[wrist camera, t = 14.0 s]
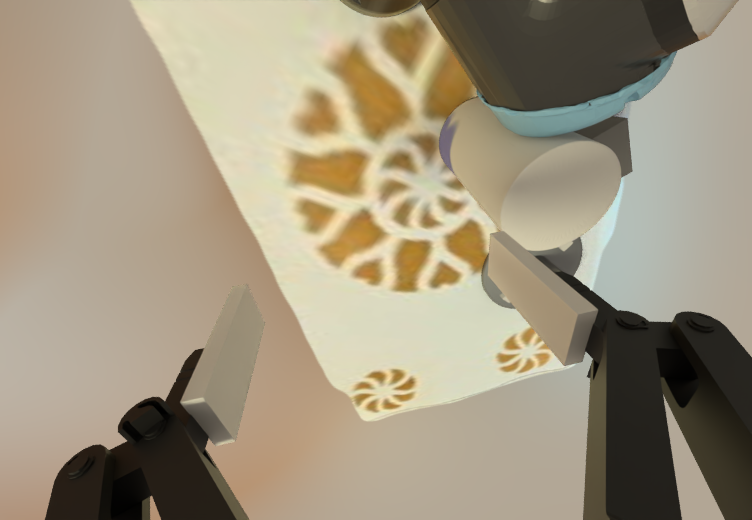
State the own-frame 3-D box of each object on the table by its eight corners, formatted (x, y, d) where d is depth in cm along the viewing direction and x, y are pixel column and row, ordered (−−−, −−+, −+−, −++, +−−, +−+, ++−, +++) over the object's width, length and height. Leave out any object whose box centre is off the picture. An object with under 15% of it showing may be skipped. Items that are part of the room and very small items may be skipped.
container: (524, 134, 42) (639, 197, 26) (466, 186, 46) (536, 269, 30) (484, 77, 37) (595, 110, 21) (423, 140, 41) (478, 209, 25)
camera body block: (597, 114, 43) (632, 118, 38) (604, 163, 47) (637, 172, 42) (519, 161, 45) (543, 171, 40) (532, 204, 49) (556, 218, 44)
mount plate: (483, 230, 50) (489, 236, 48) (586, 209, 50) (597, 214, 49) (479, 313, 59) (485, 320, 57) (567, 294, 60) (575, 300, 58)
